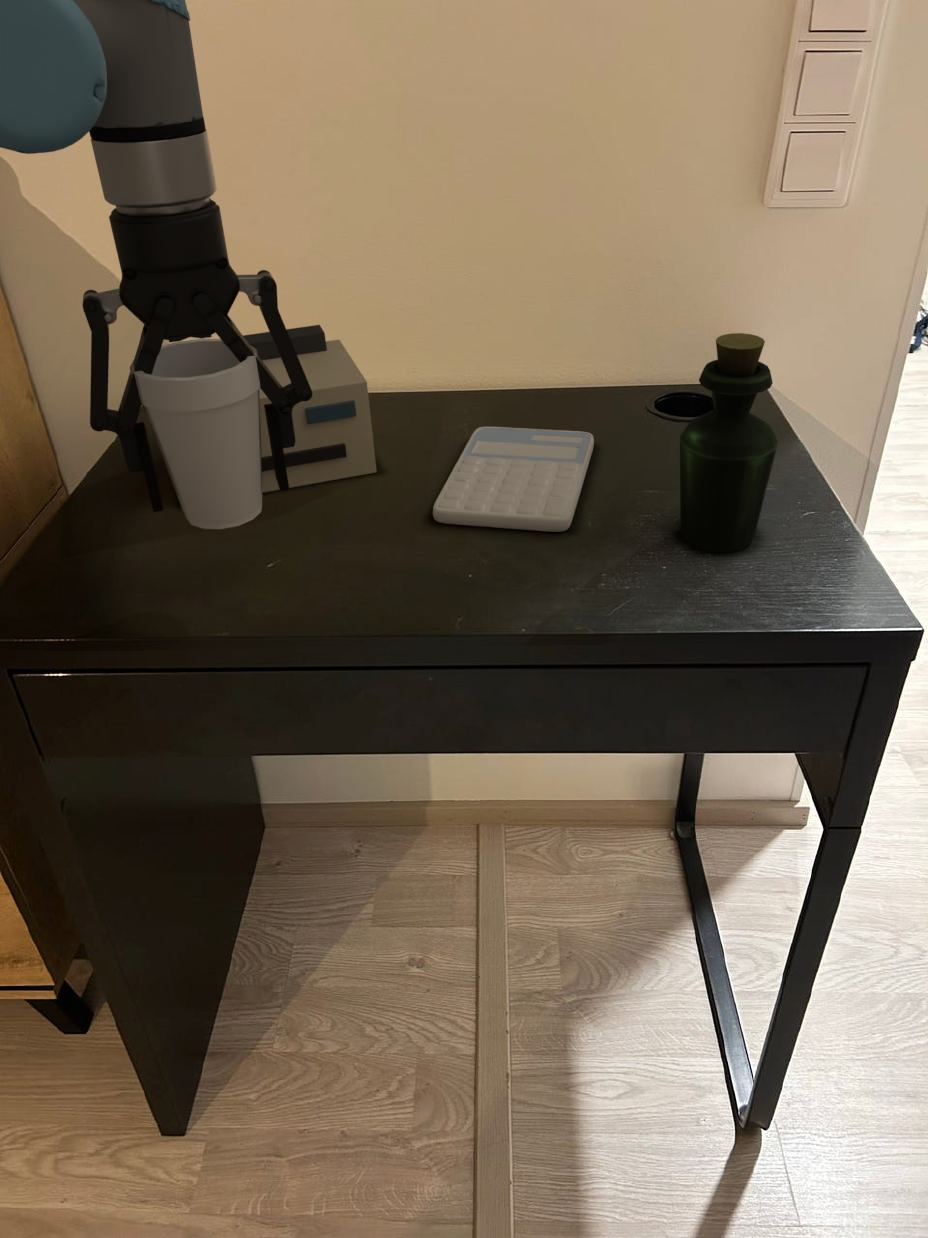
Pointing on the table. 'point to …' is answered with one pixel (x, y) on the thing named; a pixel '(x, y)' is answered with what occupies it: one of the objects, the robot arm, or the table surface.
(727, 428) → the potion bottle
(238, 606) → the table surface
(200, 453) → the foam cup
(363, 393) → the printer
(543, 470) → the calculator
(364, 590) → the table surface
